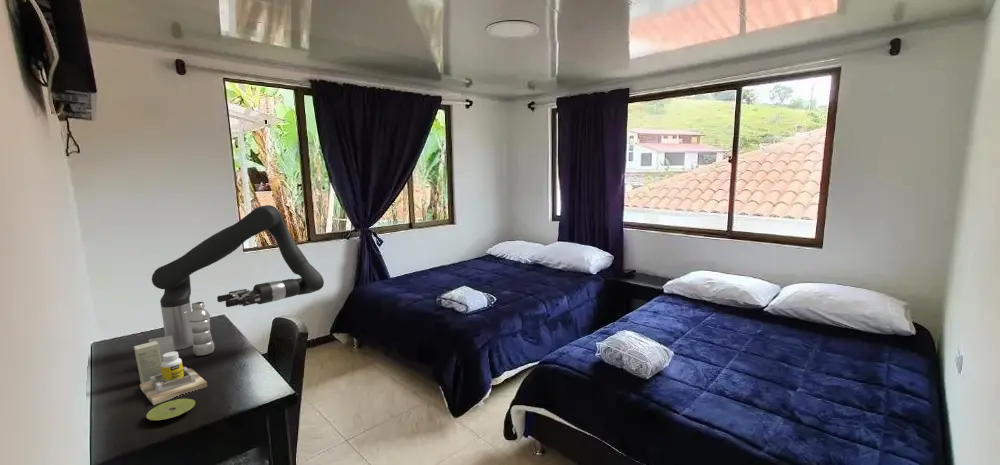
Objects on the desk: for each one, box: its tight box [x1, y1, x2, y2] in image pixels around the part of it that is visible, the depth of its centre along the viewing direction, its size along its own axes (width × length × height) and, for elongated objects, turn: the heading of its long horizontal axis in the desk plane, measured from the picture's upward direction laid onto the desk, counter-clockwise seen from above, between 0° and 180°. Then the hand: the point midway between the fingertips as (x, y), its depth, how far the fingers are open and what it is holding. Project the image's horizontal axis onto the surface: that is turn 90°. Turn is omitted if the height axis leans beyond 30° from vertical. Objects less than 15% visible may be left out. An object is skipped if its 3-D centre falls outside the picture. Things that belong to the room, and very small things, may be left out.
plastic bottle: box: [189, 301, 215, 357], centre depth 165 cm, size 6×7×20 cm
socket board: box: [139, 366, 208, 406], centre depth 141 cm, size 16×14×4 cm
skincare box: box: [133, 341, 162, 384], centre depth 146 cm, size 6×4×12 cm
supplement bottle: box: [161, 350, 184, 383], centre depth 140 cm, size 5×5×10 cm
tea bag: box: [148, 336, 176, 362], centre depth 158 cm, size 4×7×10 cm, turn 123°
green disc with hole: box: [145, 398, 196, 421], centre depth 125 cm, size 11×11×2 cm
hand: (221, 301), depth 155 cm, fingers open, 8 cm apart
